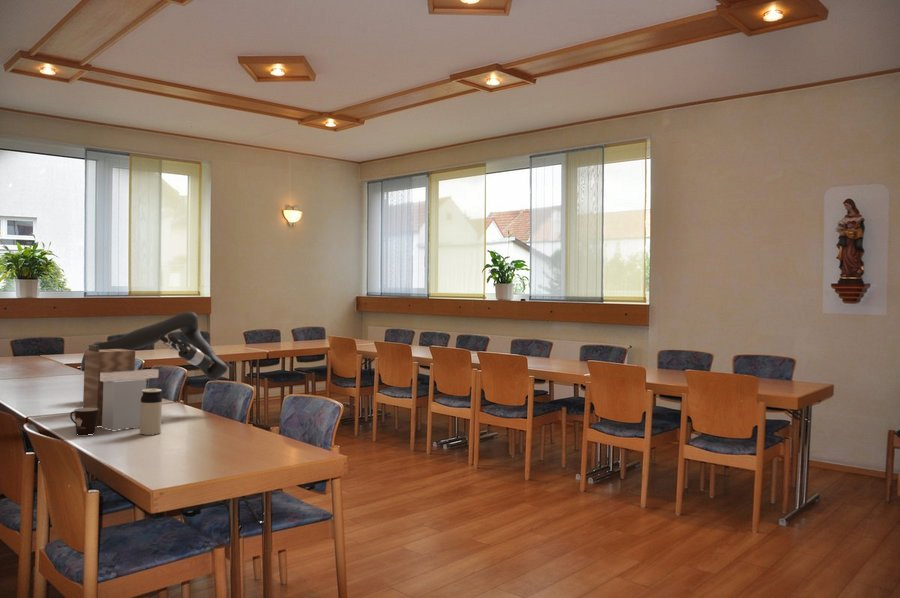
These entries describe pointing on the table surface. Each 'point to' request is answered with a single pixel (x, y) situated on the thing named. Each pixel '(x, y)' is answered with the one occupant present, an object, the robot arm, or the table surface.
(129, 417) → the grey block
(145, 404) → the travel mug
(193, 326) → the robot arm
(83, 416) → the coffee mug
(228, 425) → the table surface
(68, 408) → the table surface
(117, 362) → the walnut stand
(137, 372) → the light wooden bar
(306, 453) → the table surface
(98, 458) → the table surface
